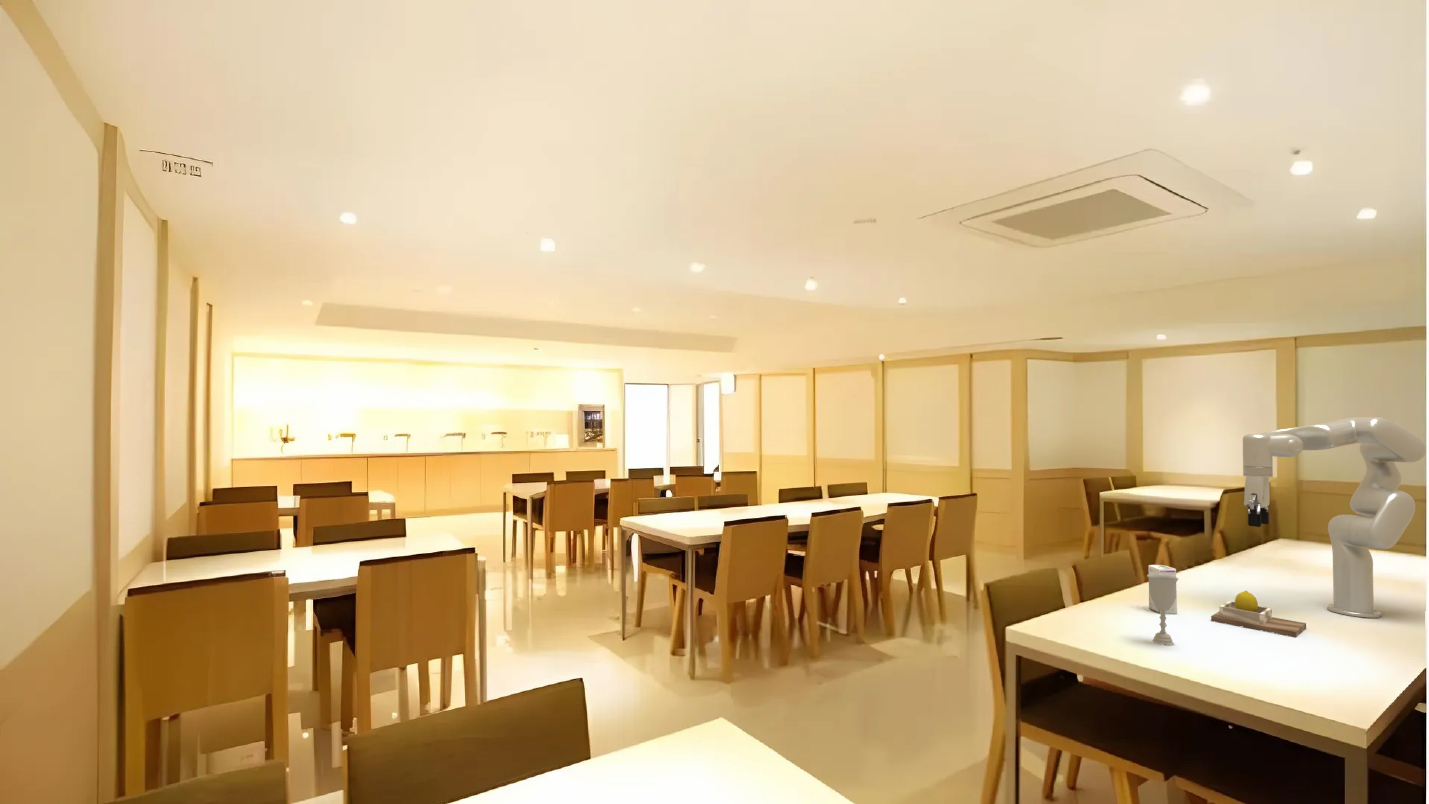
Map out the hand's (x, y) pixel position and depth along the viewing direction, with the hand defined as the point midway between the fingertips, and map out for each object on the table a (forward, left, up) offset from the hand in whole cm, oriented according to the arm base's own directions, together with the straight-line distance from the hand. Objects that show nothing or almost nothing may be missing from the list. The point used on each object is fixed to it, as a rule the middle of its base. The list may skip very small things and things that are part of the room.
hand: (1258, 525), depth 218 cm
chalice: (+60, -9, -28) cm, 67 cm away
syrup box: (+24, -20, -28) cm, 42 cm away
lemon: (+17, 0, -27) cm, 32 cm away
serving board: (+17, +3, -28) cm, 33 cm away
